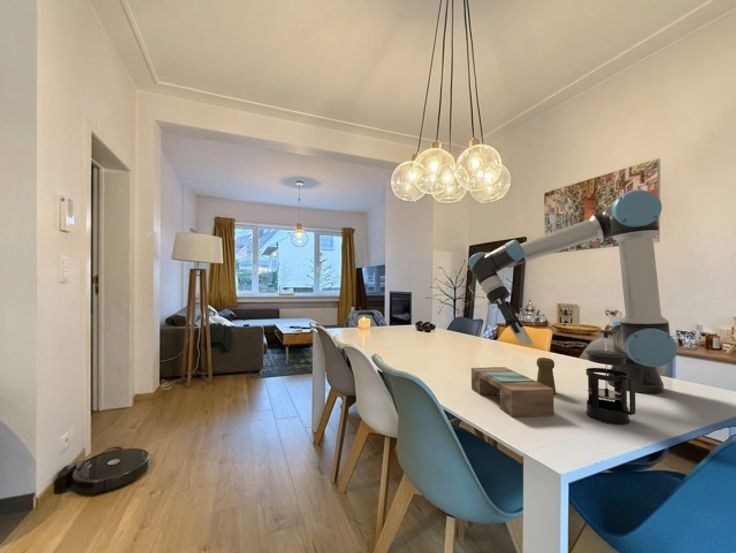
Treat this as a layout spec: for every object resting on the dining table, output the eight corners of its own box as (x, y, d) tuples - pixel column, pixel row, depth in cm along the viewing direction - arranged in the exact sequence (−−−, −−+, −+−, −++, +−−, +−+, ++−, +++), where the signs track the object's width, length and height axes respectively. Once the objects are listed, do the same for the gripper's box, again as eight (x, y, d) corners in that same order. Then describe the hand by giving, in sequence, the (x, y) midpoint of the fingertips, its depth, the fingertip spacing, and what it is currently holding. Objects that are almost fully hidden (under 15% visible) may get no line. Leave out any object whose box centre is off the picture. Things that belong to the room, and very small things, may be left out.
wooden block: (471, 388, 110) (471, 367, 110) (504, 387, 111) (504, 366, 111) (512, 417, 86) (511, 389, 86) (553, 415, 87) (553, 387, 88)
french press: (575, 412, 90) (574, 328, 90) (599, 408, 93) (597, 327, 94) (620, 430, 79) (619, 334, 79) (646, 424, 82) (644, 332, 82)
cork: (560, 395, 104) (559, 360, 104) (541, 394, 104) (540, 360, 104) (550, 389, 110) (549, 356, 110) (532, 388, 110) (531, 356, 110)
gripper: (493, 300, 132) (521, 349, 122) (477, 289, 111) (509, 346, 102) (510, 291, 129) (541, 340, 119) (497, 278, 109) (532, 336, 99)
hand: (526, 343), depth 111 cm, fingers open, 13 cm apart
